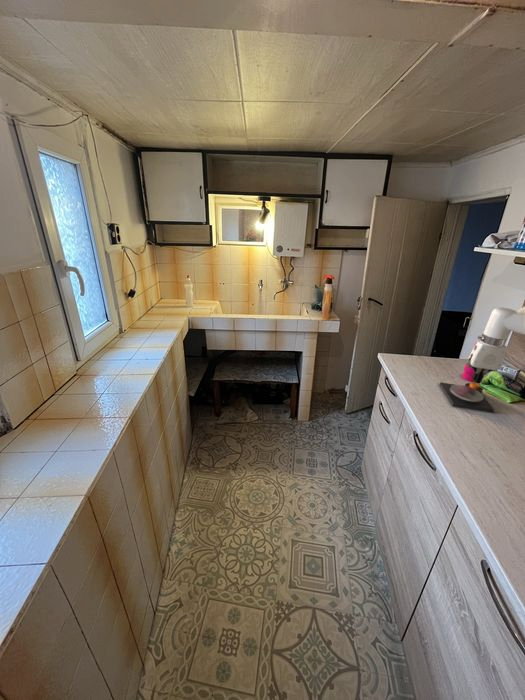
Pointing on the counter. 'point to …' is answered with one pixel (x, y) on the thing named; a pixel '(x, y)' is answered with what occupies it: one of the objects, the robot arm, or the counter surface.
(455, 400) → the scale
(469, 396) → the weighing plate
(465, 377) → the pepper mill
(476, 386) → the button
